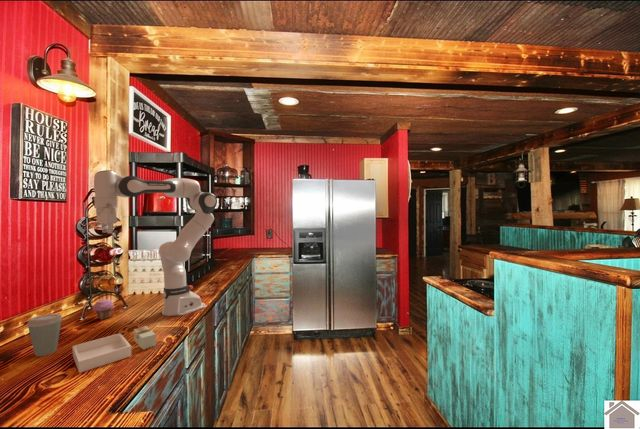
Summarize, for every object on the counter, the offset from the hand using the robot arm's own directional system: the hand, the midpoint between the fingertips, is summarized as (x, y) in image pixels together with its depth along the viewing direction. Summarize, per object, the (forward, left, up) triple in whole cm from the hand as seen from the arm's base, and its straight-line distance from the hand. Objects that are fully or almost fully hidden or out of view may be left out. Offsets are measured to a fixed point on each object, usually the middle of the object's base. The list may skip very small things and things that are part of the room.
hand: (107, 232), depth 143 cm
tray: (+9, +30, -47) cm, 56 cm away
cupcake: (0, -21, -47) cm, 51 cm away
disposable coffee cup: (+24, +9, -47) cm, 53 cm away
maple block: (-6, +26, -47) cm, 54 cm away
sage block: (-6, +34, -47) cm, 58 cm away
